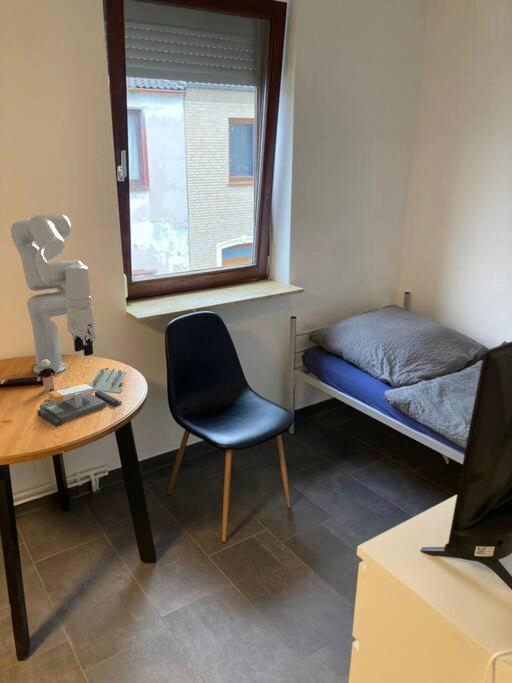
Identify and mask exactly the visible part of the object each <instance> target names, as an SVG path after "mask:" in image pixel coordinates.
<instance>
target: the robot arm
mask: <svg viewBox="0 0 512 683" xmlns="http://www.w3.org/2000/svg"><path fill="white" fill-rule="evenodd" d="M71 225H72V224H71V222H70V219H69V218H68V217H67V216H66V215H65V214H62V213H53V214H52V213H51V214H39V215H38V214H37V215H35V216H32V217H31V218H30V219H22V220H19V221H15V222H13V223H12V224H11V227H10V235H11V239H12V242H13V245H14V247H15V248H16V250H17V252H18V253H19V256H20V258H21V264H22V268H23V269H22V270H23V273H24V277H25V278H24V279H25V282H26V286H27V287H28V289H29V290H30V291H35V292H37V291H39V292H40V291H46V290H47V291H48V290H54V289H56V290H57V291H54V292H44V293H39V294H34V295H32V296H30V297H29V298H28V299H27V301H26V308H27V311H28V315H29V318H30V321H31V328H32V335H33V336H32V337H33V342H34V352H35V361H36V365H35V366H33V373H35V374H37V375H39V373H40V372H41V371H42V370H44V368H43V367H41V361H43V360H45V359H47V360H49V362H50V366H49V368H52V369H53V370H54V371H55V372H56V373H57V374H60V373H62V372H64V371H65V370H66V369H67V364H66V363H65V362H63V361H62V360H63V359H62V351H61V342H60V341H61V340H60V331H59V327H58V325H57V324H56V322H54V321H53V320H52V319H51V318H54V317H61V316H65V315H66V320H67V322H66V323H67V331H68V332H69V333H70V334H71V335H72V340H73V346H74V347H73V348H74V352H76V353H77V352H81V351H83V356H84V357H88V356H91V355H93V354H94V348H93V346H94V345H93V344H94V341H95V340H96V338H97V336H96V334H95V332H96V331H95V320H94V314H93V310H92V297H91V296H92V294H91V283H90V272H89V271H90V270H89V267H88V266H87V265H85V264H83V263H82V262H81V261H80V260H76V259H74V260H63V261H52V262H48V261H50V260H52V259H53V258H55V257H58V256H59V255H60V254H61V253H62V252H63V251H64V249H65V246H66V244H65V240H64V239H65V238H68V237H69V236H70V234H71V233H72V226H71ZM87 334H88V335H87ZM51 374H52V375H54V374H53V373H51Z"/></svg>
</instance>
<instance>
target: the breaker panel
mask: <svg viewBox="0 0 512 683" xmlns="http://www.w3.org/2000/svg"><path fill="white" fill-rule="evenodd" d="M66 388H70V385H66V386H63V387H61V390H62V389H66ZM106 404H107V403H106V402H105V401H103V400H101V399H99V398H97V397H96V396H95V394H89V395H85V396H82V394H81V392H79V393H76V394H74V398H73V399H69V400H65V401H63V402H59V403H56V402H54V401H52V400H50V401H47V402H44V403H41V404H39V410H40V409H44V410H45V411H47V412H49V413H50V414H52V415H53V416H55V417H56V418H58V419H60V420H61V425H62V424H64V423H66V422H67V423H68V422H70V421H72V420H74V419H75V420H76V419H78V418H80V417H82V416H85V415H87V414H88V415H89V414H91V413H93V412H94V413H95V412H97V411H99V410H102V409H104V408H107V405H106Z"/></svg>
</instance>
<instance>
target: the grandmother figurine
mask: <svg viewBox="0 0 512 683" xmlns="http://www.w3.org/2000/svg"><path fill="white" fill-rule="evenodd" d="M49 366H50V362H49V360H47V359H45V360H43V361H41V367H43V368H44V370H42V371H41V372H40V373H39V374H37V379H36V381H37V382H40V381H41V378H42V382H43V393H44V394H49V392H52V391H56V387H55V382H54V378H53V376H55V377H56V378H57V377H58V373H56V372H55V371H54V370H53V369H52V368H49ZM51 373H53V374H51Z"/></svg>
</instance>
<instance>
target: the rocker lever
mask: <svg viewBox="0 0 512 683" xmlns="http://www.w3.org/2000/svg"><path fill="white" fill-rule="evenodd" d="M87 384H88V383H83V384H79V385H75V386H69V388H66V389H62V388H61V389H58V390H55V391H50V392H49V393H48V399H49V400H50V401H54V402H56V403H59V402H63V401H65V400H69V399H73V398H74V394H76V393H79V392H81V394H82V396H85V395H89V394H92V395H94V394H95V391H94V388H93V387H91V386H89V385H90V384H89V385H87Z"/></svg>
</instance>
